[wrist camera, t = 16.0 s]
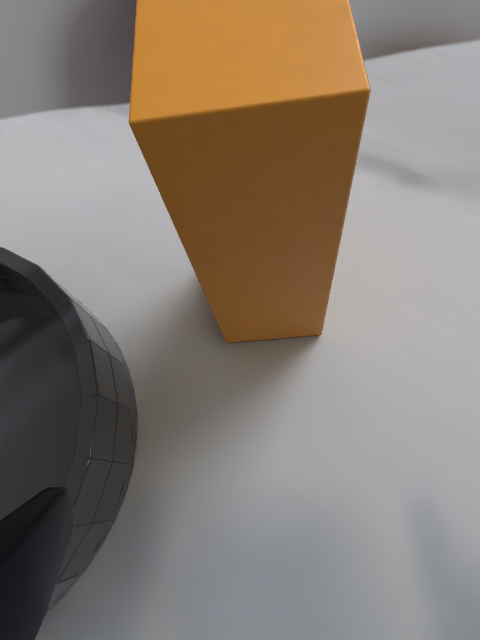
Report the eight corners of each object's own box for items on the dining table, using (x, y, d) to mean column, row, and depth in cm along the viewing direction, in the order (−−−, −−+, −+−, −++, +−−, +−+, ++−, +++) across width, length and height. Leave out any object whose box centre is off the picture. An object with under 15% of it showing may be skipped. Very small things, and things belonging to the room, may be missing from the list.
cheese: (321, 335, 17) (371, 89, 7) (226, 343, 18) (127, 122, 7) (309, 244, 19) (333, -69, 8) (222, 253, 19) (137, -36, 9)
